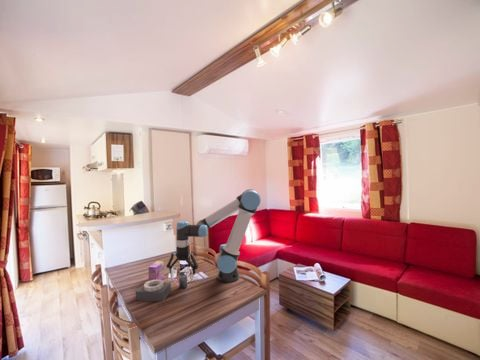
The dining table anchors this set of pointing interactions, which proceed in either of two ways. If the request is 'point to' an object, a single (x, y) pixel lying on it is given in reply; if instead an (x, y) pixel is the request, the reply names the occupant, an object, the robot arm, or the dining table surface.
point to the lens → (183, 280)
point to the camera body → (153, 291)
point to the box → (156, 271)
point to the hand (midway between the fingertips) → (182, 278)
